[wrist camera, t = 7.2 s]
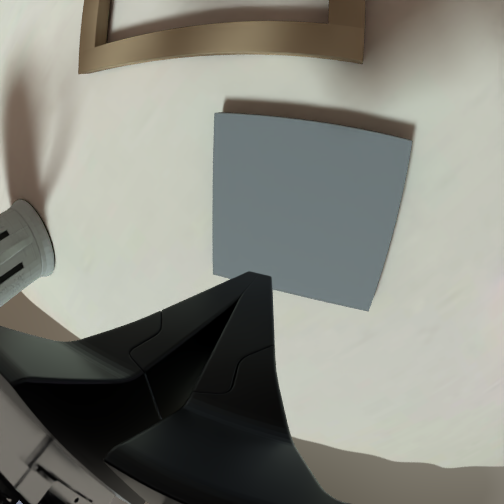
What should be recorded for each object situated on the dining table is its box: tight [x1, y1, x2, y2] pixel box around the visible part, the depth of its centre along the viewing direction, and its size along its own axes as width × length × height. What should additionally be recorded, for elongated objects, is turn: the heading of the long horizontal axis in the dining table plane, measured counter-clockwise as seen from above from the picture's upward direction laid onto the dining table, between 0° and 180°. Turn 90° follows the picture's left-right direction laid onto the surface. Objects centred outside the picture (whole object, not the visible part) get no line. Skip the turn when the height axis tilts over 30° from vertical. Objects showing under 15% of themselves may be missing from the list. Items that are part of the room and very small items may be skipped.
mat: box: [213, 112, 412, 311], centre depth 14 cm, size 9×9×1 cm
